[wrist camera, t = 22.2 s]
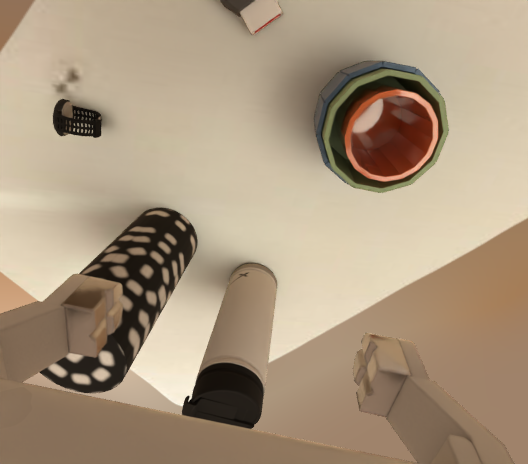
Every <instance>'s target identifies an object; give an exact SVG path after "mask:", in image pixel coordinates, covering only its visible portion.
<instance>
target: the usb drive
mask: <svg viewBox="0 0 528 464" xmlns="http://www.w3.org/2000/svg"><path fill="white" fill-rule="evenodd" d="M221 2H222V4H223V5H224V6H225V7H226V8H228V9H229V10H230V11H232V12H233V13H235V14H236V15H238V16H242V18H243V20H244V22H245V24H246V25H247V27H248V29H249V31H250V33H251V34H252V35H254V34H256V33H257V32H259V31H260V30H261V29H263V28H264V27H266V26H267V25H268V24H270V23H271V22H273V21H274V20H275V19H277V18H278V17H279V16H281V15H282V14H283V12H282V10H281V8H280V6H279V4H278V2H277V0H221Z"/></svg>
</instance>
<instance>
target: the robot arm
mask: <svg viewBox="0 0 528 464" xmlns="http://www.w3.org/2000/svg"><path fill="white" fill-rule="evenodd" d="M122 294H123V289H122V285H121V283H118V282H113V281H109V280H104V279H100V278H95V277H90V276H86V275H81V274H73V275H72V276H71V277H69V278H68V279H67V280H66V281H65V282H64V283H63V284H62V285H61V286H60V287H58V288H57V289H56V290H55V291H54V292H53V293H52V294H51V295H50V296H49V297H47V298H46V299H45V300H44V301H43V302H40V301H37V302H34V303H31V304H28V305H25V306H22V307H19V308H16V309H13V310H10V311H7V312H4V313H1V314H0V464H514V462H513V460H512V458H511V457H510V455H509V453H508V451H507V449H506V447H505V445H504V444H503V443H502V442H501V441H500V440H498V438H496V437H495V436H494V435H493V434H492V433H491V432H490V431H489V430H487V429H486V428H485V427H484V426H483V425H482V424H481V423H480V422H479V421H478V420H477V419H476V418H474V417H473V416H472V415H471V414H470V413H469V412H468V411H467V410H466V409H465V408H464V407H462V406H461V405H460V404H459V403H458V402H457V401H456V400H455V399H453V397H451V396H450V395H449V394H448V393H447V392H446V391H445V390H444V389H443V388H442V387H440V386H439V385H438V384H437V383H436V382H435V381H431V380H430V379H429V377H428V375H427V372H426V370H425V367H424V365H423V363H422V360H421V358H420V355H419V353H418V351H417V348H416V346H415V344H414V343H413V342H412V341H410V340H405V339H399V338H391V337H386V336H381V335H376V334H370V333H365V335H364V336H363V338H362V341H361V343H362V349H361V350H359V351H358V352H357V354H356V357H355V359H354V366H353V376H354V381H355V383H356V384H357V385H358V386H359V388H358V390H357V392H356V394H357V399H358V405H359V411H361V412H365V413H370V414H374V415H378V416H383V417H387V418H386V419H387V420H388V422H389V423H390V424H391V426H392V427H393V429H394V430H395V431H396V433H397V434H398V436H399V437H400V439H401V440H402V442H403V443H404V444H405V446H406V447H407V449H408V450H409V451H410V453H411V454H412V455H413V457H414V458H415V460H416V461H417V463H415V462H410V461H405V460H400V459H396V458H390V457H386V456H381V455H375V454H371V453H366V452H361V451H356V450H351V449H346V448H341V447H335V446H331V445H326V444H321V443H317V442H311V441H307V440H302V439H297V438H292V437H287V436H283V435H278V434H273V433H268V432H263V431H258V430H253V429H248V428H244V427H239V426H234V425H229V424H224V423H219V422H214V421H209V420H204V419H199V418H194V417H189V416H184V415H179V414H175V413H170V412H164V411H160V410H155V409H150V408H145V407H140V406H135V405H130V404H125V403H120V402H116V401H110V400H106V399H101V398H96V397H91V396H86V395H81V394H76V393H71V392H66V391H61V390H56V389H52V388H47V387H42V386H37V385H32V384H27V383H22V382H23V381H25V380H27V379H28V378H30V377H32V376H33V375H35V374H37V373H38V372H40V371H42V370H44V369H45V368H47V367H49V366H50V365H52V364H54V363H55V362H57V361H59V360H60V359H62V358H64V357H65V356H67V355H69V353H72V354H78V355H83V356H89V357H95V358H96V357H97V356H98V354H99V353H100V352H101V350H102V349H103V347H104V346H105V344H106V343H107V336H108V335H110V334H112V333H114V331H115V330H116V328H117V327H118V325H119V323H120V320H121V317H122V312H123V304H122V303H121V301H120V300H119V298H120V297H121V295H122Z"/></svg>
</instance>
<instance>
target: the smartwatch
mask: <svg viewBox="0 0 528 464" xmlns="http://www.w3.org/2000/svg"><path fill="white" fill-rule="evenodd" d="M74 110H75V112H76V113H75V114H74ZM77 111H79V113H80V114H78V112H77ZM81 111H83V113H84V115H83V114H82V112H81ZM85 112H87V115H86V113H85ZM89 112H90V113H91V116H90V115H89ZM92 113H93V114H94V117H93V114H92ZM95 114H96V115H95ZM74 116H76V117H75V119H74ZM78 117H79V119H78ZM82 117H84V119H83V120H81V119H82ZM86 117H87V120H85V119H86ZM89 118H91V120H89ZM101 121H102V120H101V114H100V113H98V112H96V111H93V110H89V109H84V108H80V107H76V106H73V105H71V103H70V101H69V100H65V99H61V100H59V101H58V103H57V104H56V106H55V108H54V113H53V124H54V128H55V130H56V132H57V133H58V134H59V135H60V136H65V135H68V134H73V135H79V136H93V137H94V138H96V137H100V136H101ZM74 123H75V126H74ZM77 123H79V126H77ZM81 123H83V127H81ZM85 124H87V127H85ZM88 124H90V127H89V126H88ZM92 125H93V128H92ZM74 128H75V132H74V131H73V129H74ZM77 129H79V132H77ZM81 129H83V133H81ZM85 130H87V133H85ZM89 130H90V133H89V134H88V131H89ZM92 130H93V133H92Z"/></svg>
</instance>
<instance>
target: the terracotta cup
mask: <svg viewBox="0 0 528 464" xmlns="http://www.w3.org/2000/svg"><path fill="white" fill-rule="evenodd" d="M335 125H336V132H337V135H338V137H339V139H340V141H341V144H342V146H343V148H344V150H345V153H346V155H347V157H348V158H349V160H350V162H351V164H352V165H353V167H354V168H355V169H356V170H357V171H358V172H360V173H361V174H363V175H364V176H365V177H367V178H369V179H374V180H378V181H383V182H386V181H392V180H399V179H403V178H405V177H406V176H408V175H410V174H412V173H414V172H416V171H417V170H419V169H420V168H421V166H422V165H423V164H424V163H425V162H426V161H427V160H428V159H429V158H430V157H431V155H432V152H433V150H434V148H435V145H436V143H437V140H438V119H437V117H436V114H435V112H434V110H433V108H432V106H431V104H430V103H429V102H427V101H426V100H425V99H424V98H422V97H421V96H420V95H418V94H417V93H415V92H411V91H408V90H405V89H401V88H398V87H394V86H391V85H387V84H383V83H378V82H370V83H366V84H363V85H361V86H358V87H357V88H356V89H355V90H354V91H353V92H352V93H351V94H350V96H349V97H348V98H347V99H346V100H345V101H344V102H343V103H342V104H341V106H340V107H339V108H338V109H337V112H336V117H335Z"/></svg>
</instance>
